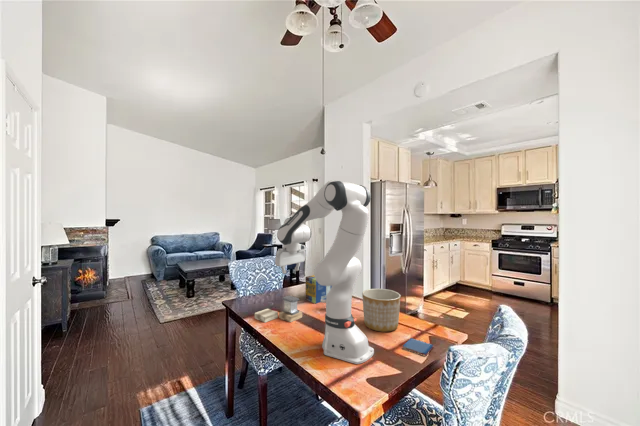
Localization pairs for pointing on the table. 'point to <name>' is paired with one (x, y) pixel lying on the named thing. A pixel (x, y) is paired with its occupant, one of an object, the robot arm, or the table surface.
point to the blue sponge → (417, 346)
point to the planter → (381, 309)
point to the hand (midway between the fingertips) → (290, 272)
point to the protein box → (315, 290)
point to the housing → (290, 305)
